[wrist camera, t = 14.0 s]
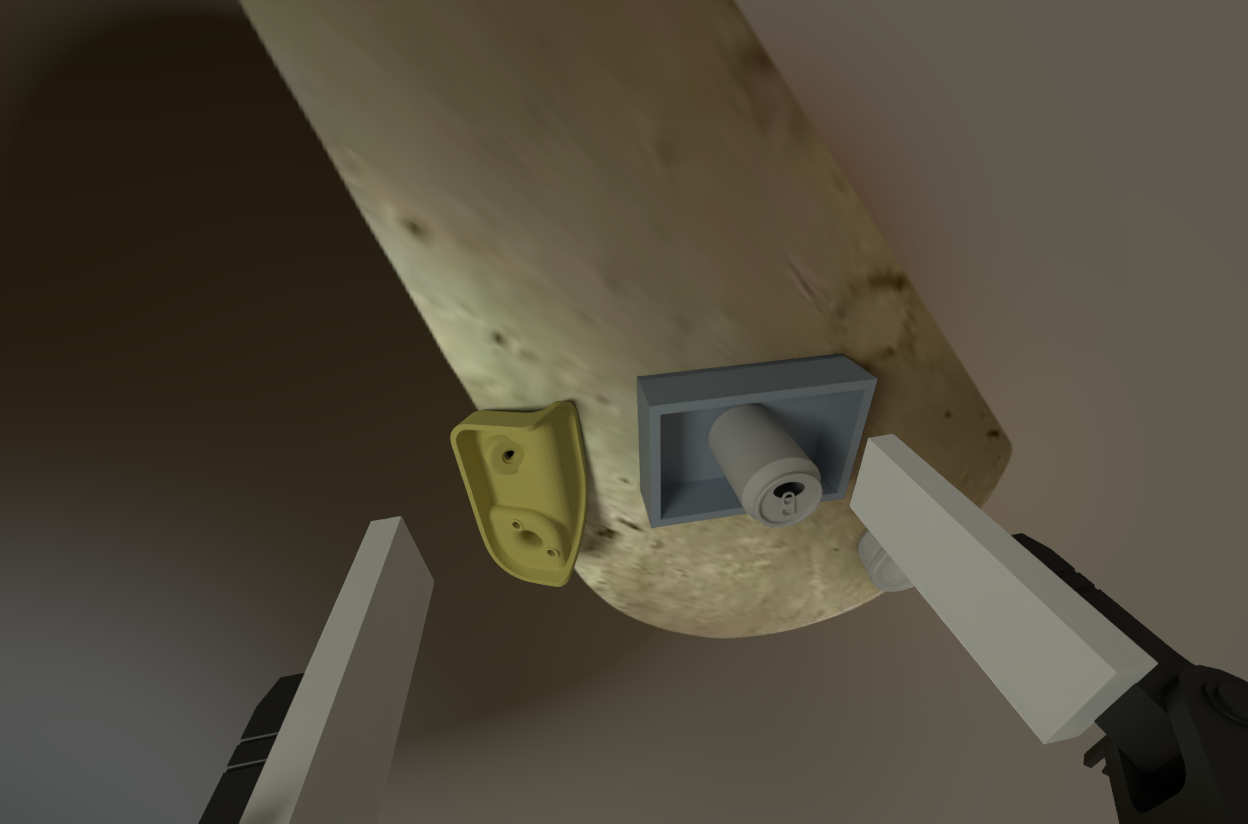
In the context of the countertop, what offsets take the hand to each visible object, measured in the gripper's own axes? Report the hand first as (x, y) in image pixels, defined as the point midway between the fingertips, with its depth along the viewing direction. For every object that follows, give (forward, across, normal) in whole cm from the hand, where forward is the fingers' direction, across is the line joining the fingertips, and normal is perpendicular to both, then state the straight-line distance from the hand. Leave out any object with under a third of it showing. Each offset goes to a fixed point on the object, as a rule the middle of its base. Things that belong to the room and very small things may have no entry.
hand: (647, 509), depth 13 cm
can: (+29, +15, -20) cm, 38 cm away
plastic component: (+30, -9, -22) cm, 38 cm away
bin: (+29, +15, -20) cm, 39 cm away
